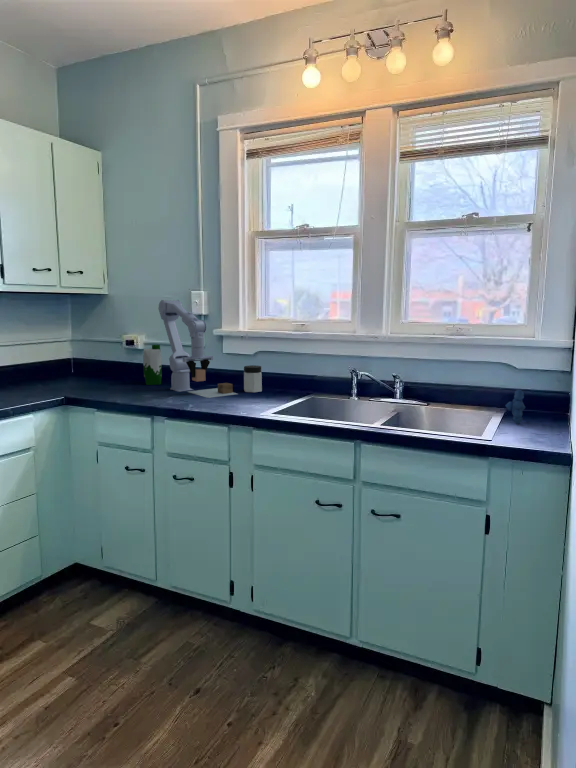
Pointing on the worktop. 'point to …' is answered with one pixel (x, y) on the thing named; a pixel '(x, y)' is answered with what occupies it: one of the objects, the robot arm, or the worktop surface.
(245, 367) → the jar
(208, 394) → the mat
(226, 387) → the walnut block
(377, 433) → the worktop surface
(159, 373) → the milk carton
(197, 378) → the terracotta block
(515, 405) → the grapes
